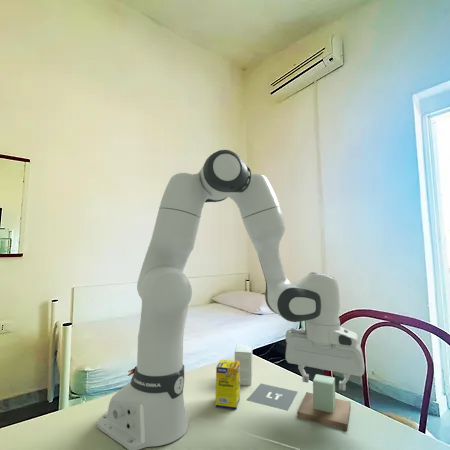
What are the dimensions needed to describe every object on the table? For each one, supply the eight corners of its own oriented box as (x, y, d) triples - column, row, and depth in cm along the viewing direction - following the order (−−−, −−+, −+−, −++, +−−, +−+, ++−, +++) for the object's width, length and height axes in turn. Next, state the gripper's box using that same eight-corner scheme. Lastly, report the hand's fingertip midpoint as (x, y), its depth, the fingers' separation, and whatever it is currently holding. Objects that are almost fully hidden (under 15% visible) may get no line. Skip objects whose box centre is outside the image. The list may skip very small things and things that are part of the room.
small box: (236, 374, 103) (236, 343, 103) (252, 376, 102) (252, 344, 103) (233, 385, 95) (234, 351, 96) (251, 386, 94) (251, 352, 95)
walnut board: (297, 417, 76) (297, 411, 77) (306, 397, 87) (306, 392, 87) (347, 430, 71) (347, 424, 71) (350, 407, 82) (350, 401, 82)
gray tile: (246, 400, 85) (246, 399, 85) (260, 384, 96) (260, 383, 96) (287, 411, 80) (287, 410, 80) (297, 392, 90) (297, 391, 90)
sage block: (313, 408, 78) (312, 381, 79) (316, 400, 83) (316, 374, 83) (333, 413, 76) (332, 385, 77) (335, 404, 80) (334, 377, 81)
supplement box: (236, 410, 80) (237, 368, 81) (215, 408, 81) (215, 366, 82) (240, 399, 85) (240, 360, 86) (219, 397, 87) (220, 359, 88)
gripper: (282, 330, 83) (282, 381, 81) (363, 341, 73) (364, 399, 72) (288, 325, 88) (288, 373, 87) (363, 335, 79) (365, 389, 78)
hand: (323, 385), depth 80 cm, fingers open, 8 cm apart
